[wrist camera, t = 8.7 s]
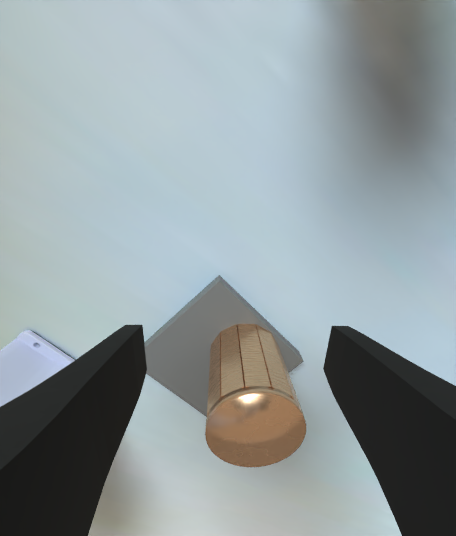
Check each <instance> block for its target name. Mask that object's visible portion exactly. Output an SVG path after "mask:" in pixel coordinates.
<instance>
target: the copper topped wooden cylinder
mask: <svg viewBox="0 0 456 536" xmlns="http://www.w3.org/2000/svg"><path fill="white" fill-rule="evenodd" d="M305 434H306V423H305V419H304V416H303V413H302V410H301V407H300V404H299V402H298V399H297V396H296V393H295V390H294V388H293V385H292V382H291V379H290V377H289V374H288V371H287V368H286V365H285V363H284V360H283V357H282V354H281V352H280V349H279V346H278V344H277V342H276V340H275V338H274V337H273V335H272V333H271V332H270V331H268V330H266V329H264V328H262V327H261V326H259V325H257V324H256V325H255V324H238V325H237V324H235V325H233V326H231V327H229V328H227V329H225V330H222V331H221V332H220V333H219V334H218V336H217V337H216V338H215V340H214V341H213V343H212V344H211V352H210V370H209V388H208V406H207V419H206V433H205V435H206V441H207V444H208V446H209V448H210V449H211V451H212V452H213V453H214V454H215V455H216V456H217V457H219V458H220V459H222V460H223V461H225V462H228V463H230V464H233V465H237V466H243V467H261V466H266V465H271V464H274V463H277V462H279V461H281V460H283V459H285V458H287V457H288V456H290V455H291V454H292V453H294V452H295V451H296V450H297V449H298V448H299V446H300V445H301V443H302V442H303V440H304V437H305Z"/></svg>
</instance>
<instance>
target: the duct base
mask: <svg viewBox="0 0 456 536" xmlns="http://www.w3.org/2000/svg"><path fill="white" fill-rule="evenodd" d="M235 324H237V325H238V324H255V325H256V324H257V325H259V326H261V327H262V328H264V329H266V330H268V331H270V332H271V333H272V335H273V337H274V338H275V340H276V342H277V344H278V346H279V349H280V352H281V354H282V357H283V360H284V363H285V365H286V368H287V371H288V372H289V371H291V370H292V369H294V368H295V367H296V366H298V365H299V364H301V363H302V362H303V359H302V357H301V355H300V353H299V351H298V350H297V349H296V348H295V347H294V346H293V345H292V344H290V343H289V342H288V341H287V340H286V339H285V338H284V337H283V336H282V335H281V334H280V333H279V332H278V331H277V330H276V329H275V328H274V327H273V326H272V325H271V324H270V323H269V322H268V321H267V320H265V319H264V318H263V317H262V316H261V315H260V314H259V313H258V312H257V311H256V310H255V309H254V308H253V307H252V306H251V305H250V304H249V303H248V302H247V301H246V300H245V299H244V298H243V297H241V296H240V295H239V294H238V293H237V292H236V291H235V290H234V289H233V288H232V287H231V286H230V285H229V284H228V283H227V282H226V281H225V280H224V279H223V278H222V277H221V276H220V275H219V276H218V277H217V278H216V279H215V280H213V281H212V282H211V283H210V284H209V285H208V286H207V287H206V288H205V289H203V290H202V291H201V292H200V293H199V294H198V295H197V296H196V297H195V298H193V299H192V300H191V301H190V302H189V303H188V304H187V305H186V306H185V307H184V308H182V309H181V310H180V311H179V312H178V313H177V314H176V315H175V316H174V317H172V318H171V319H170V320H169V321H168V322H167V323H166V324H165V325H164V326H163V327H161V328H160V329H159V330H158V331H157V332H156V333H155V334H154V335H153V336H151V337H150V338H149V339H148V340H147V341H146V342H145V343H144V346H145V355H146V364H147V371H146V373H147V374H148V375H149V376H151V377H152V378H154V379H155V380H156V381H158V382H159V383H161V384H162V385H163V386H165V387H166V388H167V389H169V390H170V391H172V392H173V393H174V394H176V395H177V396H179V397H180V398H181V399H183V400H184V401H186V402H187V403H188V404H190V405H191V406H193V407H194V408H195V409H197V410H198V411H199V412H201V413H202V414H204V415H205V416H206V417H207V406H208V388H209V370H210V352H211V344H212V343H213V341H214V340H215V338H216V337H217V336H218V334H219V333H220V332H221V331H222V330H225V329H227V328H229V327H231V326H233V325H235Z"/></svg>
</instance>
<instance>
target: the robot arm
mask: <svg viewBox="0 0 456 536" xmlns="http://www.w3.org/2000/svg"><path fill="white" fill-rule="evenodd" d="M38 343H39V344H40V345H39V344H38ZM323 369H324V372H325V375H326V377H327V380H328V383H329V385H330V388H331V390H332V393H333V395H334V397H335V399H336V401H337V403H338V405H339V407H340V408H341V410H342V412H343V414H344V416H345V418H346V420H347V422H348V423H349V425H350V427H351V429H352V431H353V433H354V435H355V436H356V438H357V440H358V442H359V444H360V446H361V448H362V449H363V451H364V453H365V455H366V457H367V459H368V461H369V463H370V465H371V467H372V469H373V471H374V473H375V475H376V477H377V479H378V481H379V483H380V485H381V488H382V490H383V492H384V495H385V497H386V499H387V501H388V504H389V506H390V508H391V510H392V513H393V515H394V517H395V520H396V522H397V524H398V527H399V529H400V532H401V534H402V536H456V386H454V385H452V384H451V383H449V382H447V381H445V380H443V379H441V378H439V377H437V376H436V375H434V374H432V373H430V372H428V371H426V370H424V369H423V368H421V367H419V366H417V365H415V364H414V363H412V362H410V361H408V360H407V359H405V358H403V357H401V356H400V355H398V354H396V353H395V352H393V351H391V350H389V349H388V348H386V347H384V346H383V345H381V344H379V343H378V342H376V341H374V340H372V339H371V338H369V337H367V336H366V335H364V334H362V333H360V332H358V331H357V330H355V329H353V328H351V327H349V326H332V329H331V334H330V338H329V343H328V348H327V353H326V358H325V363H324V368H323ZM146 371H147V364H146V355H145V346H144V336H143V327H142V325H125V326H123V327H122V328H120V329H119V330H117V331H116V332H114V333H113V334H112V335H110V336H109V337H107V338H106V339H105V340H103V341H102V342H101V343H99V344H98V345H96V346H95V347H94V348H92V349H91V350H89V351H88V352H87V353H85V354H84V355H82V356H81V357H79V358H78V359H77V360H74V359H72V358H71V357H69V356H68V355H67V354H65V353H64V352H62V351H61V350H59V349H58V348H56V347H55V346H53V345H52V344H50V343H49V342H47V341H46V340H44V339H43V338H41V337H40V336H38V335H37V334H35V333H34V332H32V331H30V330H25V331H23V332H22V333H20V334H19V335H18V337H17V338H16V339H14V340H13V341H12V342H11V343H9V344H8V345H7V346H5V347H4V348H3V349H1V350H0V536H88V533H89V530H90V527H91V524H92V520H93V517H94V514H95V511H96V508H97V505H98V502H99V499H100V496H101V492H102V489H103V486H104V483H105V481H106V478H107V475H108V473H109V470H110V467H111V465H112V462H113V460H114V457H115V455H116V453H117V450H118V448H119V445H120V443H121V440H122V438H123V436H124V433H125V431H126V428H127V426H128V423H129V421H130V419H131V416H132V414H133V411H134V409H135V406H136V404H137V401H138V399H139V396H140V393H141V389H142V386H143V382H144V379H145V375H146Z"/></svg>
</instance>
